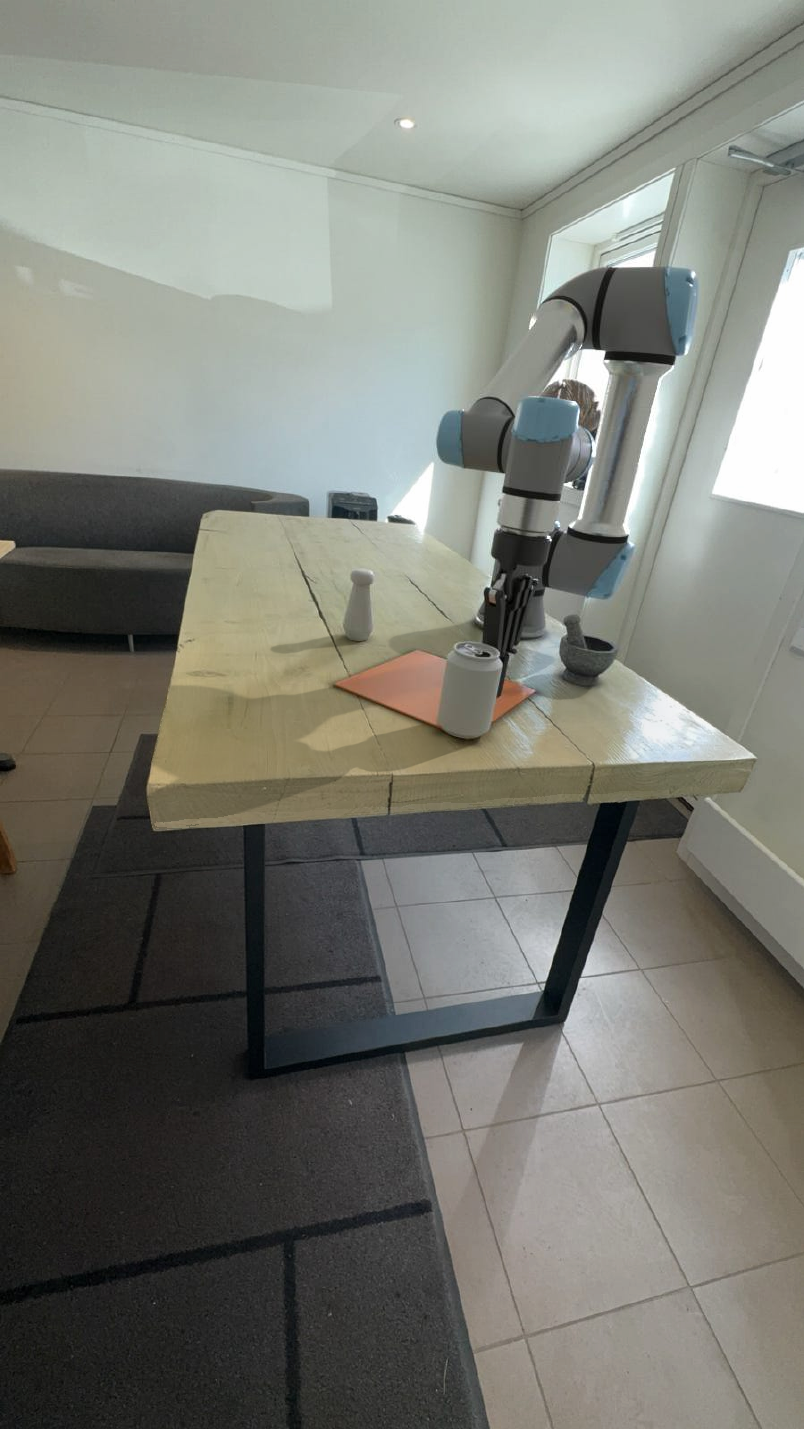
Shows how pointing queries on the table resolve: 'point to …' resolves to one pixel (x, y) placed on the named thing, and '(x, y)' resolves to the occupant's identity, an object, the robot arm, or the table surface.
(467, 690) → the can
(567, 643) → the mortar and pestle
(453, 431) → the robot arm
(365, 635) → the salt shaker
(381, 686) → the orange square board
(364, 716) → the table surface
